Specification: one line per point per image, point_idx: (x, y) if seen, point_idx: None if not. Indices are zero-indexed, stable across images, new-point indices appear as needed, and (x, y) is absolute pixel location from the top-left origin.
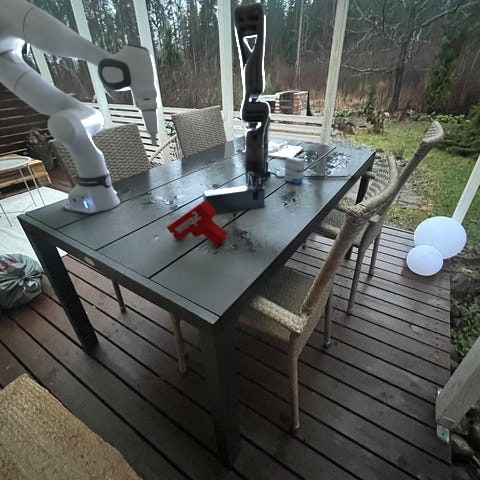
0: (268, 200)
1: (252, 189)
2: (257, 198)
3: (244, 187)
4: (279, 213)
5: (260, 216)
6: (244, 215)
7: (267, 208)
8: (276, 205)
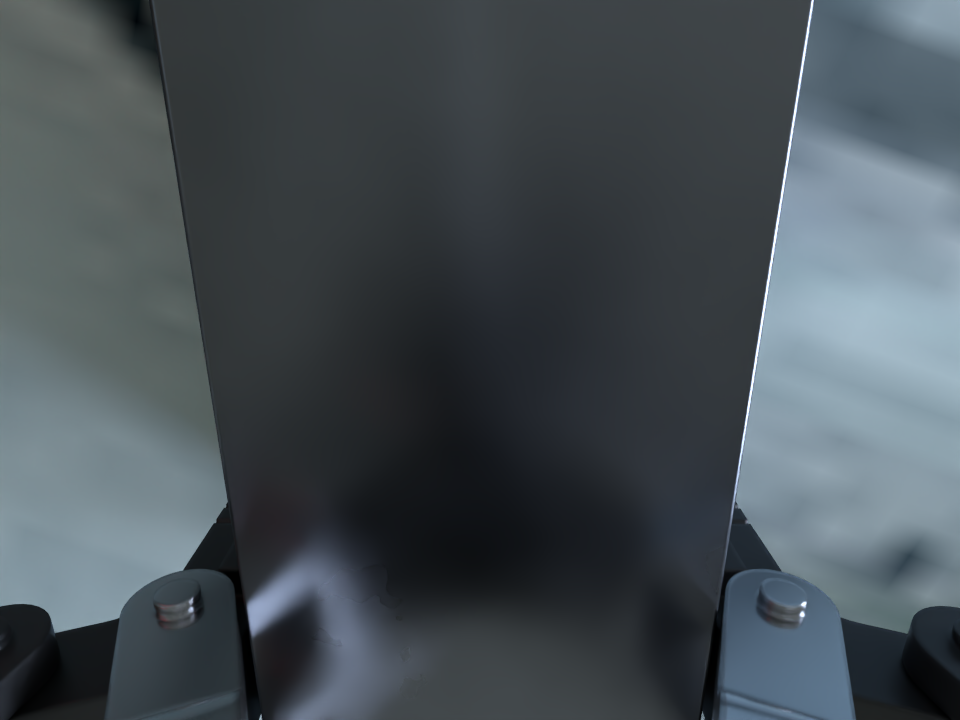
0: None
1: (276, 603)
2: None
3: (573, 407)
4: None
5: (47, 368)
6: (126, 105)
7: None
8: None
